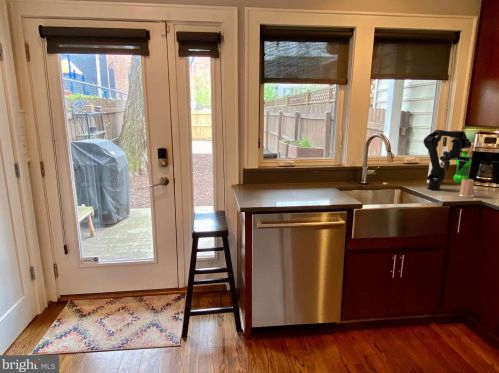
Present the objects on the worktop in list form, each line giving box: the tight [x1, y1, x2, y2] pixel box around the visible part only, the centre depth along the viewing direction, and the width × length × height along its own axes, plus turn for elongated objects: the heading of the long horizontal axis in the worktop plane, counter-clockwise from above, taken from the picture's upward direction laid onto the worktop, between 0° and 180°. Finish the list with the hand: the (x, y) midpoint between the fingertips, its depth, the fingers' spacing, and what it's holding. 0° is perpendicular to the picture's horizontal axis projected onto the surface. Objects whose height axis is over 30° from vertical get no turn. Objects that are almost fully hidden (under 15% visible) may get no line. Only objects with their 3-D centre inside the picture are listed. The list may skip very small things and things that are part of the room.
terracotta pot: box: [459, 178, 475, 196], centre depth 216 cm, size 6×6×10 cm
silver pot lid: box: [456, 192, 475, 199], centre depth 217 cm, size 10×10×5 cm
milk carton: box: [426, 158, 444, 184], centre depth 251 cm, size 7×7×19 cm
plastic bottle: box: [452, 150, 472, 184], centre depth 254 cm, size 10×10×25 cm
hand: (452, 170), depth 235 cm, fingers open, 9 cm apart
